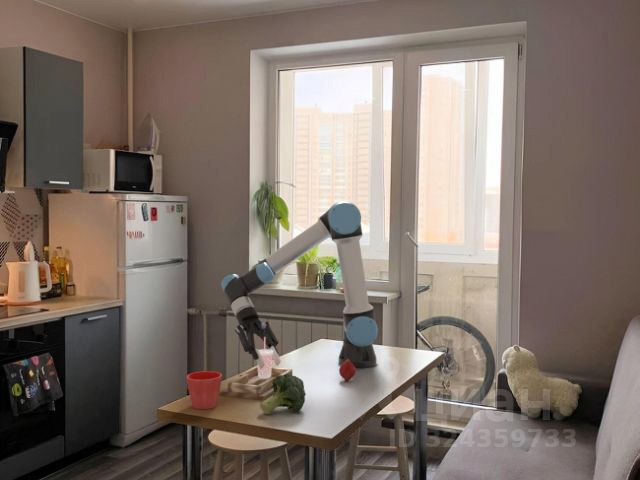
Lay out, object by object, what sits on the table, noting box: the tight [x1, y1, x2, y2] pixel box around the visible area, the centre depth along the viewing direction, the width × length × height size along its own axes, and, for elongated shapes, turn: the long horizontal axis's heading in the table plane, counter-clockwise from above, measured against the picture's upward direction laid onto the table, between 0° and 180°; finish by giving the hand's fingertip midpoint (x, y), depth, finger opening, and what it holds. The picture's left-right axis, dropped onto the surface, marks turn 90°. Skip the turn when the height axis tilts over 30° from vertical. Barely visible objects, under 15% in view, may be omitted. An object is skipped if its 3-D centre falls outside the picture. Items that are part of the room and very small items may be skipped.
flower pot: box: [186, 370, 223, 410], centre depth 208 cm, size 11×11×10 cm
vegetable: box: [259, 373, 307, 415], centre depth 202 cm, size 12×13×15 cm
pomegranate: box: [338, 359, 356, 382], centre depth 238 cm, size 6×6×8 cm
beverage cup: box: [256, 337, 273, 378], centre depth 234 cm, size 6×6×14 cm
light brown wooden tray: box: [219, 365, 293, 401], centre depth 229 cm, size 16×26×4 cm, turn 160°
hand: (270, 364), depth 231 cm, fingers closed on beverage cup, 6 cm apart
